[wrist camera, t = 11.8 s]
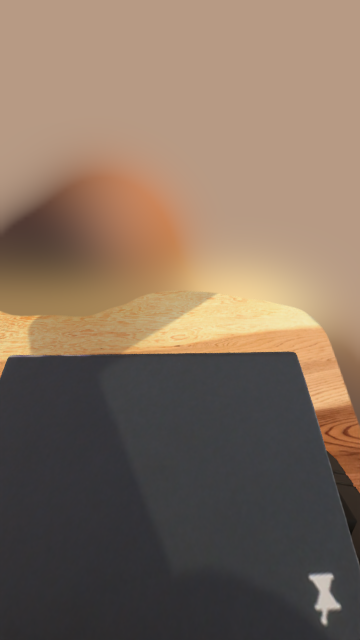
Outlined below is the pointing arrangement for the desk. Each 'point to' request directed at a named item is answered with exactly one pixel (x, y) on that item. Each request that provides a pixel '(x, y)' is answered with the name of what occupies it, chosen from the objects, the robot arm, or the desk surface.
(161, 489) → the box
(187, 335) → the desk surface
